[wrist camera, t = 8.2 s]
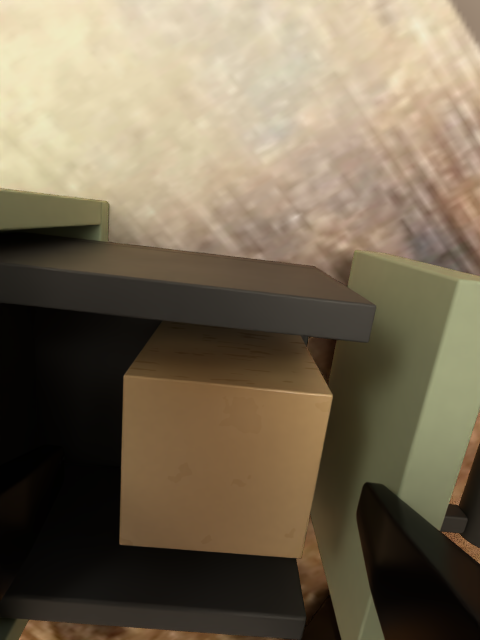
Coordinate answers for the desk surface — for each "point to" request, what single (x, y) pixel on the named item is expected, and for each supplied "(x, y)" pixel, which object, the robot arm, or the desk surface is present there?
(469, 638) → the robot arm
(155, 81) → the desk surface
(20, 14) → the desk surface
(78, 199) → the green drawer cabinet
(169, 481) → the beech block
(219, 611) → the cabinet drawer
